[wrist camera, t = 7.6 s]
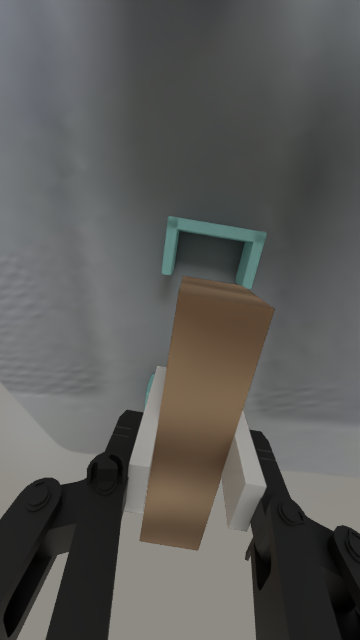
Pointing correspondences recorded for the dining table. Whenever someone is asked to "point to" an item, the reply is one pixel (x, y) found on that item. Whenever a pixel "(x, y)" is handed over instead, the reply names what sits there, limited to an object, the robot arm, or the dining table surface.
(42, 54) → the dining table surface
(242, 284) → the pair of teal brackets
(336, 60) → the dining table surface
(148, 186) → the dining table surface
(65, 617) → the robot arm
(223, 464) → the batten
